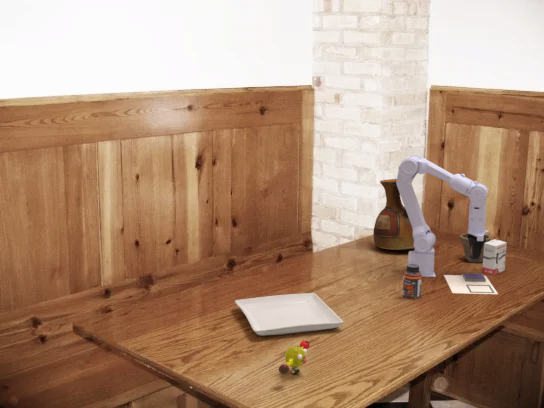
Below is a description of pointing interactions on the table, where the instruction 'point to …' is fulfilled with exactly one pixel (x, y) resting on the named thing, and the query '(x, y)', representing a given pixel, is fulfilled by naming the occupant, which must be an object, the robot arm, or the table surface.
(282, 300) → the square plate
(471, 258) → the stamp
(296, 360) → the toy figure
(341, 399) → the table surface
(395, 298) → the table surface
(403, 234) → the ceramic pitcher
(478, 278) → the ink pad
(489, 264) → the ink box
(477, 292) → the board
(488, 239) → the flower pot
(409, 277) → the supplement bottle
